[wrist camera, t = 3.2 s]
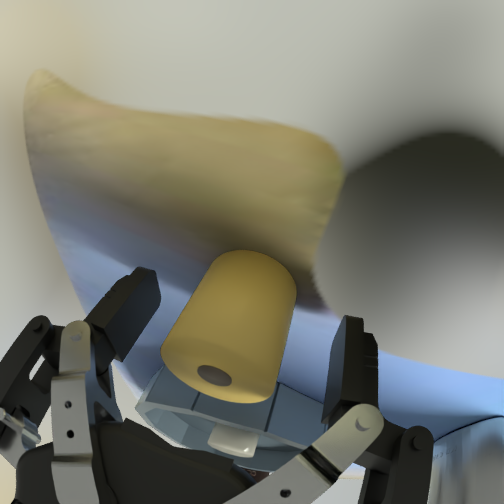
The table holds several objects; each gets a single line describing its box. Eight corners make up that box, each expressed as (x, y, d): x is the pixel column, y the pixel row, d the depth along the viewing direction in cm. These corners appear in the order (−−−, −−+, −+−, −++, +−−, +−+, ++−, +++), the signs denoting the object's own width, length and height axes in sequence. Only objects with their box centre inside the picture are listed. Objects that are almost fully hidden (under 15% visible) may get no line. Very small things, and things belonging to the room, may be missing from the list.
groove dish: (370, 397, 15) (366, 445, 12) (311, 453, 25) (305, 479, 22) (133, 337, 18) (108, 373, 15) (173, 416, 28) (161, 439, 25)
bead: (304, 261, 10) (282, 361, 7) (289, 327, 13) (267, 413, 9) (205, 241, 11) (147, 323, 8) (210, 308, 14) (170, 384, 10)
